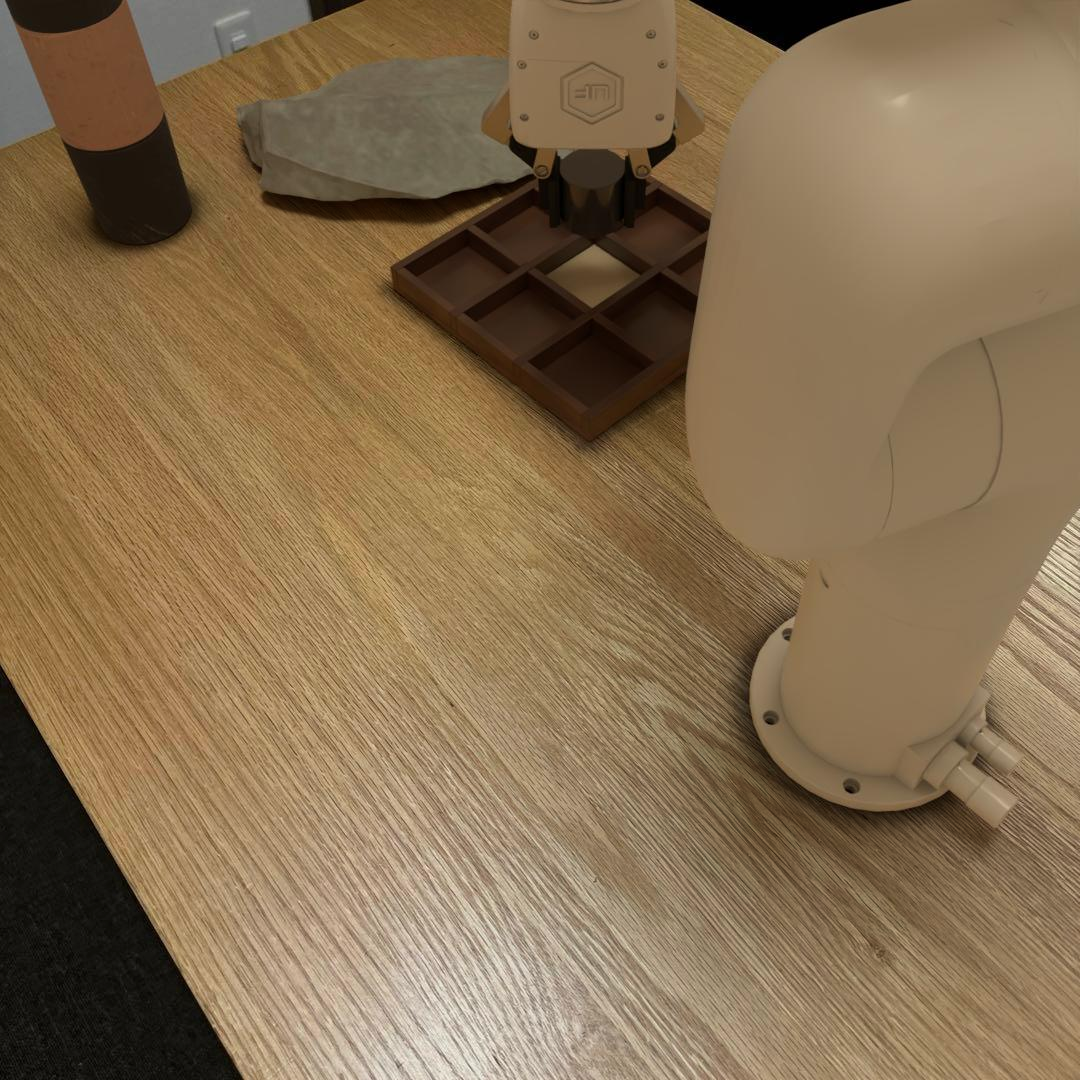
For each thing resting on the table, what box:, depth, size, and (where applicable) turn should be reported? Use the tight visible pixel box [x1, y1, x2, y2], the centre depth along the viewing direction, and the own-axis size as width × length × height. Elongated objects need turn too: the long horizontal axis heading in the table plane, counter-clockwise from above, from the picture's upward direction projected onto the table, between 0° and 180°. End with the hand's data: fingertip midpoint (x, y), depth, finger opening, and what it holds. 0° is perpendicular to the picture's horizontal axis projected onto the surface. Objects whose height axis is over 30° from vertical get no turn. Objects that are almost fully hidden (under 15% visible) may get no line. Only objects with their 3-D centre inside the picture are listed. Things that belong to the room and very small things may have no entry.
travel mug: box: [4, 0, 192, 245], centre depth 86 cm, size 8×8×20 cm
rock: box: [235, 54, 575, 202], centre depth 96 cm, size 27×6×20 cm
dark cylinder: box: [559, 149, 625, 237], centre depth 80 cm, size 4×4×4 cm
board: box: [389, 149, 712, 442], centre depth 86 cm, size 21×21×2 cm
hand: (592, 212), depth 82 cm, fingers closed on dark cylinder, 4 cm apart
